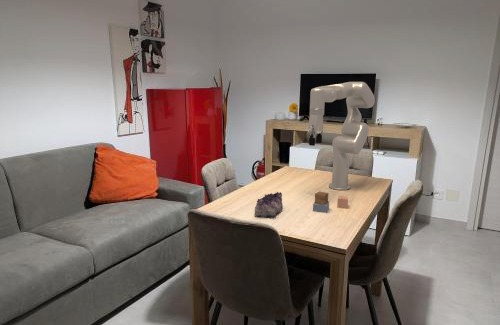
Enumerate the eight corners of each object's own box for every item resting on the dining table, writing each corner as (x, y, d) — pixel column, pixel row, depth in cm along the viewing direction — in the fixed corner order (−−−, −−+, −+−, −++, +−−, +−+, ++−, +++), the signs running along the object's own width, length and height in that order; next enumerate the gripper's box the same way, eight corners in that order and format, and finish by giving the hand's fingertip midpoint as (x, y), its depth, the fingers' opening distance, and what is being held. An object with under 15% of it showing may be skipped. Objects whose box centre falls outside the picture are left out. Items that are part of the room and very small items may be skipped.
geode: (265, 204, 187) (268, 186, 185) (286, 210, 183) (289, 192, 180) (249, 215, 169) (252, 195, 167) (271, 222, 165) (275, 202, 162)
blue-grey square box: (315, 207, 183) (315, 199, 183) (328, 209, 181) (329, 201, 180) (312, 211, 177) (313, 204, 176) (326, 213, 175) (327, 205, 174)
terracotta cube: (337, 204, 187) (338, 195, 186) (347, 205, 186) (348, 196, 185) (337, 207, 183) (337, 198, 181) (347, 208, 181) (347, 199, 180)
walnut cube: (318, 200, 182) (319, 191, 181) (327, 202, 179) (328, 193, 178) (314, 203, 178) (315, 193, 177) (323, 205, 175) (324, 195, 174)
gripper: (316, 110, 197) (314, 141, 200) (303, 112, 182) (302, 145, 186) (329, 111, 193) (327, 142, 196) (317, 113, 178) (315, 147, 182)
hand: (315, 144), depth 191 cm, fingers open, 9 cm apart
